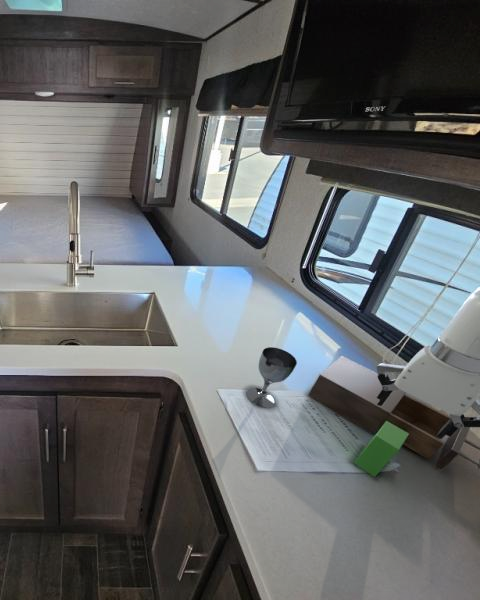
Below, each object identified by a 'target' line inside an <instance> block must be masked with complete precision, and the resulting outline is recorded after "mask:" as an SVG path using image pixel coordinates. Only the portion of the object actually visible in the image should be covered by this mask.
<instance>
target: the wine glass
mask: <svg viewBox="0 0 480 600" xmlns="http://www.w3.org/2000/svg"><path fill="white" fill-rule="evenodd" d="M297 364H298V361H297V359H296V358H295V356H293V355H292V353H290V352H289V351H287V350H284V349H282V348H278V347H265V348H264V349H263V350H262V351H261V354H260V357H259V361H258V371H259V374H260V376H261V377H262V378H263V381H264V382H263V386H262V389H261V388H258V387H250V388H248V389H247V390H246V396H247V398H248V400H249V401H251V402H252V403H253V404H254V405H257V406H258V407H261V408H265V409H266V408H269V409H270V408H272V407H274V405H275V399H274V397H273V396H272V395H271V394H270V393H269V392H267V389H268V388H269V387H270V385H271V384H276V383H281V382H284V381H286V380H287V379H288V378H289V377H290V376H291V375H292V374H293V372H294V370H295V369H296V366H297Z"/></svg>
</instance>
